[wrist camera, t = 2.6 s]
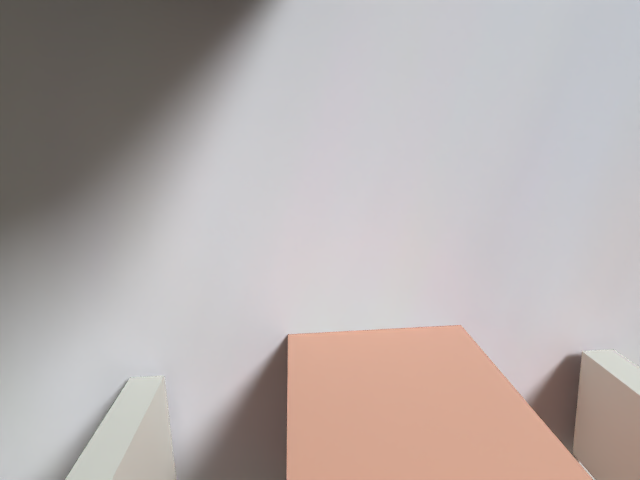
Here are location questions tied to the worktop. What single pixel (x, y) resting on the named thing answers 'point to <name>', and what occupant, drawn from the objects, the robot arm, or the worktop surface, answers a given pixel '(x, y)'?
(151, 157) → the worktop surface
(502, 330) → the worktop surface
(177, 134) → the worktop surface
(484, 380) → the block
